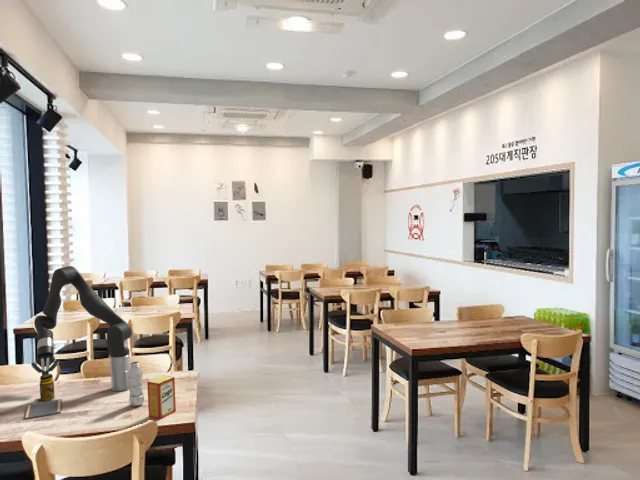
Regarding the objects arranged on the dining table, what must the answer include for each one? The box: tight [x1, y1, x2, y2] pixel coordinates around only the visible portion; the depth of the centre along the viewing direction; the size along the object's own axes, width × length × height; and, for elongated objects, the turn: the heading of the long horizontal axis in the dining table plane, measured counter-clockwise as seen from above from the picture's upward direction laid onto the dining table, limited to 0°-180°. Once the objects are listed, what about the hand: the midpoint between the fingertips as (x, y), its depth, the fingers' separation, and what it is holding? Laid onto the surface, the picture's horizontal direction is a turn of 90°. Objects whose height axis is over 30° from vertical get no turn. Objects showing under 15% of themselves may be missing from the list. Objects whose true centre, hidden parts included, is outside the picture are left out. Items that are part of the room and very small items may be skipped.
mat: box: [24, 398, 62, 420], centre depth 225 cm, size 18×14×1 cm
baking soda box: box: [146, 375, 177, 420], centre depth 215 cm, size 10×6×16 cm
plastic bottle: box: [128, 361, 145, 407], centre depth 226 cm, size 6×7×20 cm
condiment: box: [34, 373, 57, 403], centre depth 236 cm, size 7×8×12 cm
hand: (45, 378), depth 244 cm, fingers closed
